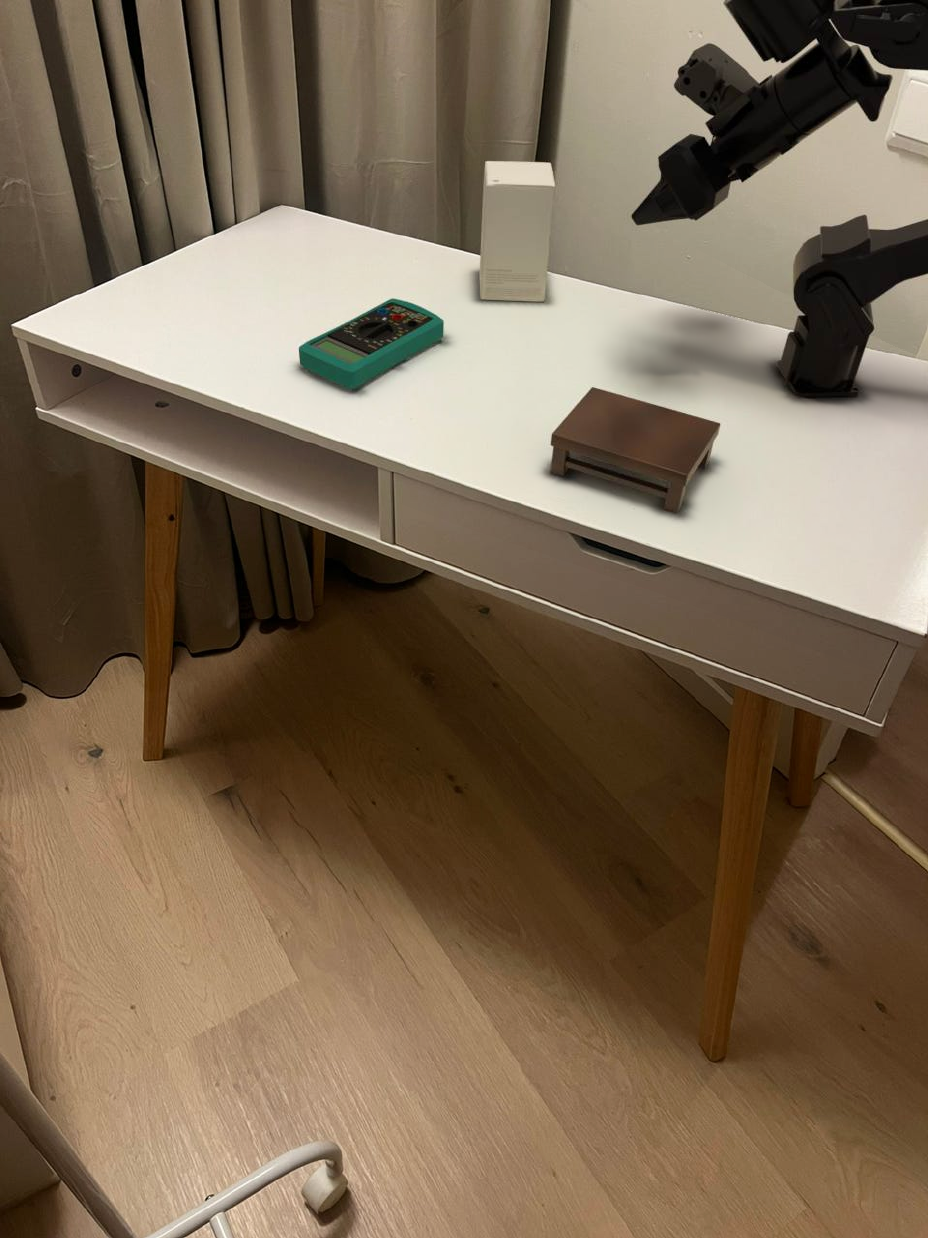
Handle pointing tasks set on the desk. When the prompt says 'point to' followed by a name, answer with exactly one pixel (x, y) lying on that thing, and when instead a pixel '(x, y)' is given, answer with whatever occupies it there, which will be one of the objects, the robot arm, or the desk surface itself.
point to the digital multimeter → (371, 342)
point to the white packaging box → (516, 230)
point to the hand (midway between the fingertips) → (654, 205)
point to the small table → (634, 443)
